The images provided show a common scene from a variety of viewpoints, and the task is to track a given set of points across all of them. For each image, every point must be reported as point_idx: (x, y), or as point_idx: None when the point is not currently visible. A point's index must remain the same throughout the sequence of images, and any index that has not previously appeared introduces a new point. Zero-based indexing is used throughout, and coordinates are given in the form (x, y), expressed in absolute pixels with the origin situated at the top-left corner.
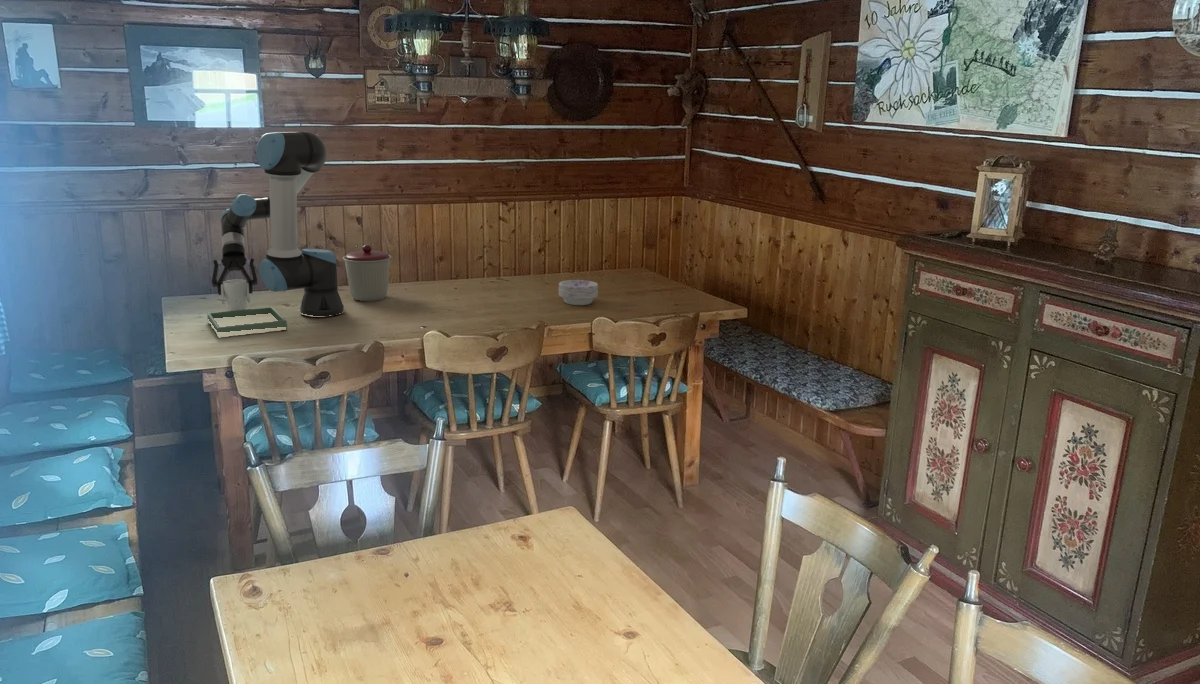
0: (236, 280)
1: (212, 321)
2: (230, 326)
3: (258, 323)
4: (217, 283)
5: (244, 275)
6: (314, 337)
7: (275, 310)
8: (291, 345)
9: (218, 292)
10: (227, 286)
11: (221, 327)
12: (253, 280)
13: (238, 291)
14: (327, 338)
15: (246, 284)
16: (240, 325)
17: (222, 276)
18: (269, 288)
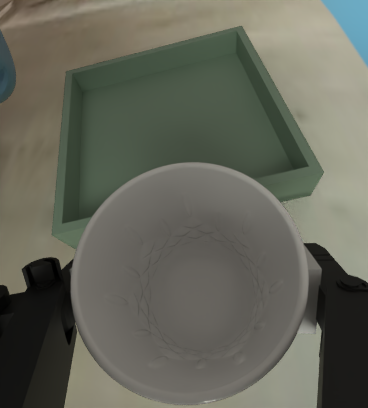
0: (164, 387)
1: (272, 83)
2: (209, 34)
3: (137, 53)
4: (365, 281)
5: (41, 351)
6: (46, 55)
7: (59, 174)
8: (99, 21)
9: (316, 244)
10: (242, 188)
11: (232, 28)
12: (7, 309)
13: (170, 203)
14: (28, 50)
15: (94, 251)
16: (183, 41)
17: (354, 364)
18: (13, 62)
